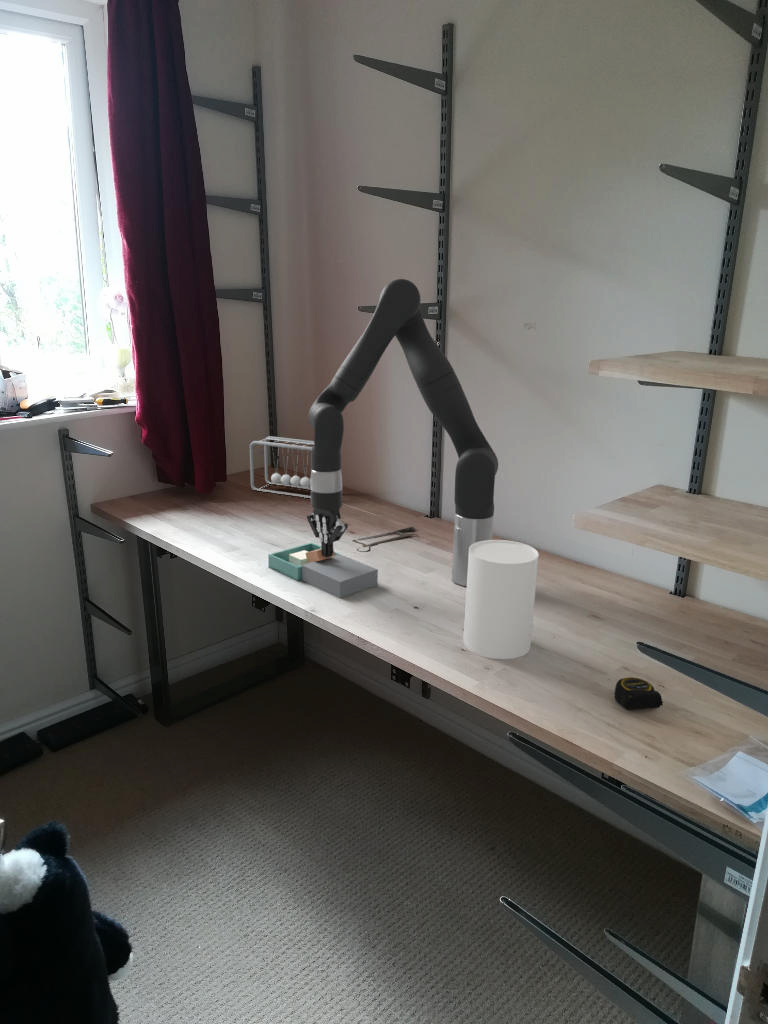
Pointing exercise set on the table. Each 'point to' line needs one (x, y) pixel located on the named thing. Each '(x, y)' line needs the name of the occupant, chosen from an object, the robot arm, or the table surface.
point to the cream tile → (298, 558)
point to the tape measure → (637, 694)
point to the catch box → (281, 561)
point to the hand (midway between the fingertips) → (327, 556)
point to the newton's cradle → (285, 478)
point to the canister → (500, 598)
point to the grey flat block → (340, 575)
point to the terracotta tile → (316, 555)
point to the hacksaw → (400, 532)
